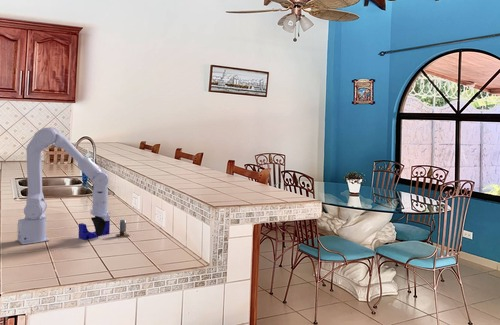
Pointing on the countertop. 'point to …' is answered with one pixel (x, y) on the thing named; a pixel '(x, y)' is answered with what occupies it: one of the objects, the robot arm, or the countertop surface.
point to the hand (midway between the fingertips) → (99, 234)
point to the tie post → (122, 229)
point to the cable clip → (87, 235)
